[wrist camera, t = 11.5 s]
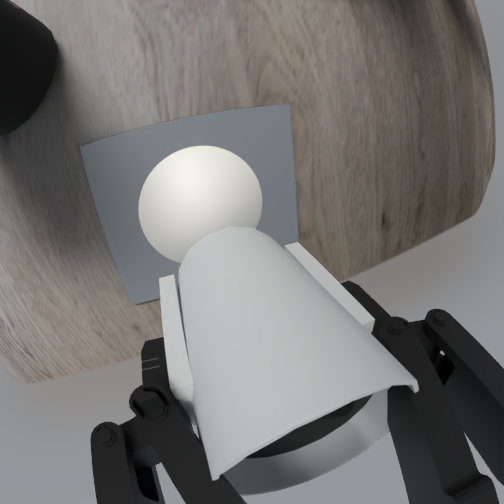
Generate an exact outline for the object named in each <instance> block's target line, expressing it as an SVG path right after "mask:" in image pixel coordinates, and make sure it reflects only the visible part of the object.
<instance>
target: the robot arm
mask: <svg viewBox="0 0 504 504" xmlns="http://www.w3.org/2000/svg"><path fill="white" fill-rule="evenodd" d="M285 251H286V252H287V253H288V254H289V255H290V256H291V257H293V258H294V259H295V260H296V261H297V262H298V263H299V264H300V265H301V266H302V267H303V268H304V269H305V270H306V271H307V272H308V273H309V274H310V275H311V276H312V277H313V278H315V279H316V280H317V281H318V282H319V283H320V284H321V285H322V286H323V287H324V288H325V289H326V290H327V291H328V292H329V293H330V294H331V295H332V296H333V297H334V298H335V299H336V300H337V301H338V302H339V303H340V304H341V305H342V306H343V307H344V308H345V309H346V310H348V311H349V312H350V313H351V314H352V315H353V316H354V317H355V318H356V319H357V320H358V321H359V322H360V323H361V324H362V325H363V326H364V327H365V328H366V329H367V330H368V331H369V332H370V333H371V334H372V335H373V336H374V337H375V338H376V339H377V340H378V341H379V342H380V343H381V344H382V345H383V346H384V347H385V348H386V349H387V350H388V351H389V352H390V353H391V354H392V355H393V356H394V357H395V358H396V359H397V360H398V361H399V362H400V363H401V364H402V366H403V367H404V368H405V369H406V370H407V371H408V372H409V373H410V374H411V375H412V376H413V377H414V378H415V379H416V380H417V383H418V387H419V391H417V392H416V393H414V392H413V391H412V390H411V389H410V387H409V386H408V385H392V386H391V387H390V388H389V389H388V390H387V423H388V426H389V429H390V432H391V436H392V439H393V443H394V446H395V449H396V453H397V456H398V460H399V464H400V467H401V471H402V475H403V479H404V483H405V486H406V491H407V494H408V499H409V504H499V501H498V498H497V493H496V490H495V487H494V484H493V482H492V480H491V478H489V477H488V476H486V475H483V474H481V473H479V471H478V469H477V467H476V464H475V461H474V458H473V455H472V452H471V450H470V447H469V444H468V442H467V439H466V437H465V434H466V435H467V437H468V438H469V440H470V441H471V442H472V444H473V445H474V447H475V448H476V449H477V451H478V452H479V454H480V455H481V457H482V458H483V460H484V461H485V463H486V464H487V466H488V467H489V469H490V470H491V472H492V473H493V474H494V476H495V477H496V478H497V480H498V481H499V482H500V483H501V484H503V485H504V369H503V368H502V367H501V366H500V364H499V363H498V362H497V361H496V360H495V359H494V358H493V357H492V356H491V355H490V354H489V353H488V352H487V351H486V350H485V348H484V347H483V346H482V345H480V343H479V342H478V341H477V340H476V339H475V338H473V336H472V335H471V334H470V333H469V332H468V331H467V330H466V329H465V328H464V327H462V325H461V324H459V323H458V322H457V321H456V320H455V319H454V318H453V317H452V316H451V315H450V314H449V313H447V312H446V311H444V310H441V309H433V310H430V311H429V312H428V313H427V315H426V318H425V320H420V321H415V322H408V321H407V320H405V319H403V318H401V317H391V316H390V315H389V314H388V313H387V312H386V311H385V310H384V309H383V308H382V307H381V306H380V305H379V304H378V303H377V302H376V301H375V300H374V299H372V298H371V297H370V296H369V295H368V294H367V293H365V291H364V290H363V289H362V288H361V287H360V286H359V285H357V284H355V283H353V282H351V281H346V282H343V283H341V284H340V283H339V282H338V281H337V280H336V279H335V278H334V277H333V276H332V275H331V274H330V273H329V272H328V271H327V270H326V269H325V268H324V267H323V266H322V265H321V264H320V263H319V262H318V261H317V260H316V259H315V258H314V257H313V256H312V255H311V254H310V253H309V252H308V251H307V250H306V249H305V248H304V247H302V246H301V245H300V244H299V243H298V242H296V243H292V244H288V245H285ZM159 285H160V301H161V313H162V325H163V335H164V337H161V338H157V339H153V340H149V341H145V344H144V346H143V348H142V350H141V359H142V380H143V385H141V386H140V387H138V388H136V389H135V390H134V391H133V393H132V394H131V396H130V400H129V404H130V408H131V409H132V411H133V412H134V413H135V414H136V415H137V416H136V417H134V418H133V419H131V420H129V421H127V422H125V423H123V424H121V425H119V426H118V425H117V424H115V423H112V422H104V423H101V424H99V425H98V426H97V427H95V428H94V430H93V432H92V433H91V454H92V465H93V466H92V467H93V476H94V484H95V491H96V498H97V504H165V501H164V498H163V494H162V490H161V486H160V483H159V479H158V475H157V471H156V466H155V465H157V464H159V463H161V462H162V464H163V466H164V468H165V470H166V471H167V473H168V475H169V477H170V478H171V480H172V482H173V484H174V485H175V487H176V488H177V490H178V491H179V493H180V495H181V497H182V498H183V500H184V501H185V503H186V504H247V503H246V502H245V501H244V500H243V498H242V497H241V496H240V495H239V493H238V492H237V491H236V490H235V488H234V487H233V486H232V485H231V484H230V482H229V481H228V480H227V479H226V477H225V476H224V475H223V474H221V475H220V477H219V479H217V480H213V481H212V477H211V473H210V469H209V464H208V460H207V456H206V453H205V451H204V450H203V448H202V446H201V444H200V440H199V439H198V437H197V436H196V434H195V433H194V431H193V428H192V423H193V425H197V424H196V419H195V413H194V408H193V402H192V397H193V380H192V374H191V369H190V363H189V357H188V351H187V345H186V339H185V333H184V326H183V319H182V312H181V305H180V298H179V290H178V286H177V283H176V280H175V276H174V274H173V275H169V276H166V277H162V278H159ZM441 350H442V351H443V352H444V353H445V355H442V354H440V351H441ZM191 422H192V423H191ZM463 431H464V432H463ZM464 433H465V434H464Z"/></svg>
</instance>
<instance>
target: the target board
mask: <svg viewBox="0 0 504 504" xmlns="http://www.w3.org/2000/svg"><path fill="white" fill-rule="evenodd" d="M80 150H81V155H82V159H83V163H84V167H85V171H86V175H87V179H88V183H89V186H90V190H91V193H92V197H93V200H94V204H95V207H96V210H97V213H98V217H99V220H100V223H101V226H102V229H103V232H104V235H105V238H106V240H107V243H108V246H109V249H110V252H111V254H112V257H113V260H114V262H115V265H116V267H117V270H118V272H119V275H120V277H121V280H122V282H123V285H124V287H125V290H126V292H127V294H128V297H129V299H130V301H131V303H132V305H135V304H139V303H143V302H147V301H151V300H155V299H159V298H160V285H159V278H162V277H166V276H169V275H173V274H174V276H175V280H176V283H177V286H178V275H179V267H180V265H181V263H182V262H183V260H184V258H185V256H186V254H187V252H188V250H189V249H190V248H191V247H192V246H194V245H195V244H196V243H197V242H198V241H200V240H201V239H202V238H203V237H204V236H206V235H207V234H209V233H212V232H215V231H218V230H221V229H224V228H227V227H230V226H231V227H252V228H254V229H256V230H258V231H260V232H262V233H264V234H266V235H268V236H270V237H271V238H272V239H273V240H274V241H276V242H277V243H278V244H279V245H280V246H281V247H282V248H283V249H284V250H285V245H288V244H292V243H296V242H298V243H299V232H298V211H297V193H296V177H295V163H294V150H293V137H292V126H291V115H290V105H289V104H284V105H271V106H261V107H251V108H243V109H235V110H227V111H221V112H214V113H208V114H202V115H197V116H191V117H186V118H181V119H176V120H172V121H167V122H163V123H158V124H154V125H150V126H146V127H142V128H138V129H134V130H131V131H127V132H124V133H120V134H117V135H113V136H110V137H107V138H104V139H101V140H97V141H94V142H91V143H88V144H86V145H83V146H80Z"/></svg>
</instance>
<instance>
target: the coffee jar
mask: <svg viewBox="0 0 504 504" xmlns="http://www.w3.org/2000/svg"><path fill="white" fill-rule="evenodd" d="M56 48H57V46H56V43H55V40H54V37H53V34H52V32H51V31H50V30H49V29H48V28H47V27H46V26H45V25H44V24H43V23H42V22H40V21H39V20H37V19H36V18H35V17H33V16H32V15H30V14H29V13H27V12H26V11H25V10H23V9H22V8H20V7H19V6H17V5H16V4H14V3H13V2H11V1H10V0H0V136H2V135H4V134H6V133H9V132H11V131H13V130H16V129H17V128H18V127H19V126H20V125H22V124H23V123H24V122H25V121H26V120H28V119H29V118H30V117H31V115H32V114H33V113H34V111H35V110H36V109H37V107H38V106H39V105H40V103H41V102H42V101H43V99H44V97H45V95H46V93H47V91H48V89H49V87H50V85H51V83H52V79H53V75H54V71H55V67H56Z"/></svg>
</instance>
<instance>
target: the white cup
mask: <svg viewBox="0 0 504 504" xmlns="http://www.w3.org/2000/svg"><path fill="white" fill-rule="evenodd" d="M178 290H179V298H180V305H181V312H182V319H183V326H184V333H185V339H186V345H187V351H188V357H189V363H190V369H191V374H192V380H193V397H192V402H193V408H194V413H195V419H196V424H197V429H198V434H199V439H200V444H201V446H202V448H203V450H204V451H205V453H206V456H207V460H208V464H209V469H210V473H211V477H212V481H213V480H217V479H219V477H220V475H221V474H223V475H224V476H225V477H226V479H227V480H228V481H229V482H230V484H231V485H232V486H233V487H234V488H235V490H236V491H237V492H238V493H239V495H240V496H241V495H242V496H249V495H256V494H263V493H268V492H274V491H278V490H282V489H285V488H288V487H292V486H295V485H298V484H301V483H304V482H307V481H310V480H312V479H314V478H317V477H319V476H321V475H323V474H325V473H328V472H330V471H332V470H334V469H336V468H338V467H340V466H341V465H343V464H345V463H346V462H348V461H350V460H352V459H353V458H355V457H356V456H358V455H360V454H361V453H363V452H364V451H366V450H367V449H369V448H370V447H371V446H372V445H374V444H375V443H376V442H377V441H379V440H380V439H381V438H382V437H384V436H385V435H386V434H387V433H388V432H390V429H389V426H388V423H387V390H388V389H389V388H390V387H391V386H392V385H408V386H409V387H410V389H411V390H412V391H413V392H414V393H416V392H417V391H419V387H418V383H417V380H416V379H415V378H414V377H413V376H412V375H411V374H410V373H409V372H408V371H407V370H406V369H405V368H404V367H403V366H402V364H401V363H400V362H399V361H398V360H397V359H396V358H395V357H394V356H393V355H392V354H391V353H390V352H389V351H388V350H387V349H386V348H385V347H384V346H383V345H382V344H381V343H380V342H379V341H378V340H377V339H376V338H375V337H374V336H373V335H372V334H371V333H370V332H369V331H368V330H367V329H366V328H365V327H364V326H363V325H362V324H361V323H360V322H359V321H358V320H357V319H356V318H355V317H354V316H353V315H352V314H351V313H350V312H349V311H348V310H346V309H345V308H344V307H343V306H342V305H341V304H340V303H339V302H338V301H337V300H336V299H335V298H334V297H333V296H332V295H331V294H330V293H329V292H328V291H327V290H326V289H325V288H324V287H323V286H322V285H321V284H320V283H319V282H318V281H317V280H316V279H315V278H313V277H312V276H311V275H310V274H309V273H308V272H307V271H306V270H305V269H304V268H303V267H302V266H301V265H300V264H299V263H298V262H297V261H296V260H295V259H294V258H293V257H291V256H290V255H289V254H288V253H287V252H286V251H285V250H284V249H283V248H282V247H281V246H280V245H279V244H278V243H277V242H276V241H274V240H273V239H272V238H271V237H270V236H268V235H266V234H264V233H262V232H260V231H258V230H256V229H254V228H252V227H231V226H230V227H227V228H224V229H221V230H218V231H215V232H212V233H209V234H207V235H206V236H204V237H203V238H202V239H201V240H200V241H198V242H197V243H196V244H195V245H194V246H192V247H191V248H190V249H189V250H188V252H187V254H186V256H185V258H184V260H183V262H182V263H181V265H180V267H179V275H178Z"/></svg>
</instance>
